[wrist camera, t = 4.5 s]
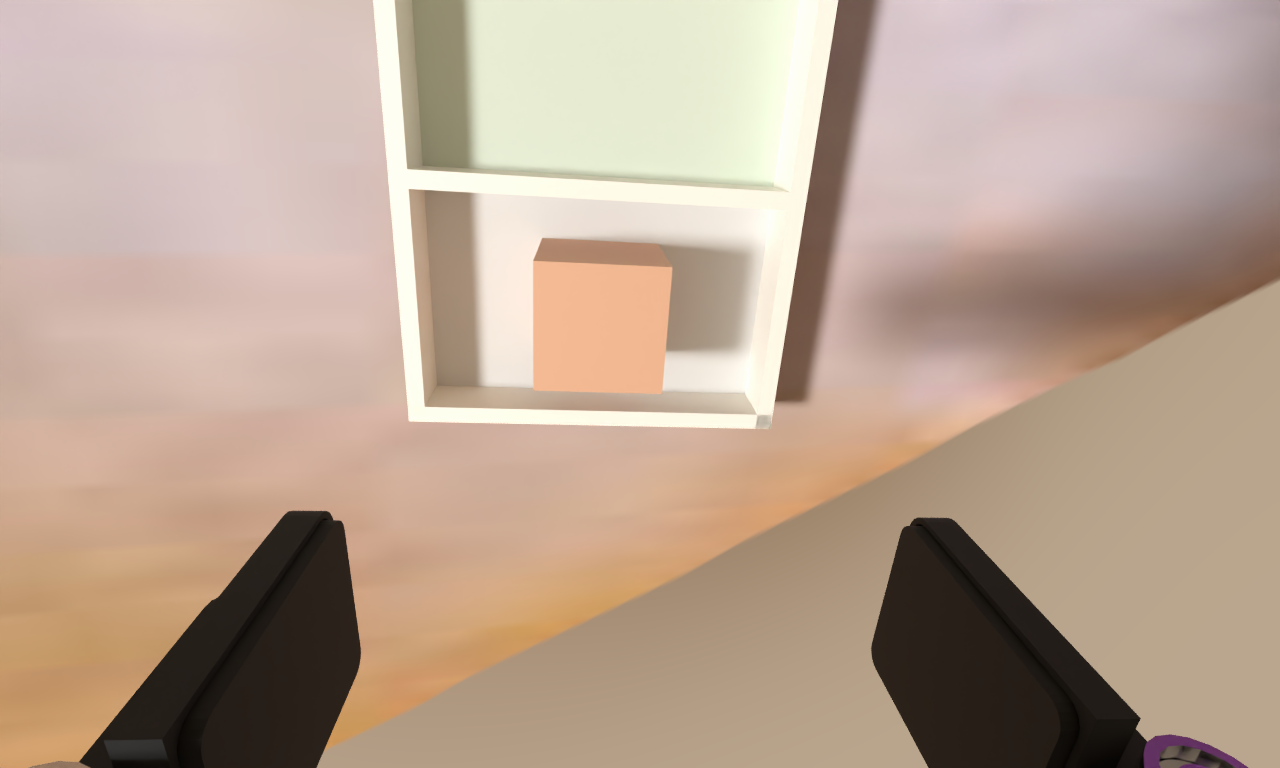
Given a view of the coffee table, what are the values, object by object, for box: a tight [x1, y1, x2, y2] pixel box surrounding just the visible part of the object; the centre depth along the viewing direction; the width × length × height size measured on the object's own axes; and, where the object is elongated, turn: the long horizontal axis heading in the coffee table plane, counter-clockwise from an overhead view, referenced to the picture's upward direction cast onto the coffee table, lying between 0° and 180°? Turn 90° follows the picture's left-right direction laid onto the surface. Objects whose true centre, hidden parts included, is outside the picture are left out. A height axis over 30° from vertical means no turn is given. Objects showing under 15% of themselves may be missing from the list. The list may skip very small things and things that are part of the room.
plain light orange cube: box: [533, 238, 673, 394], centre depth 25 cm, size 5×5×5 cm
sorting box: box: [373, 0, 838, 429], centre depth 25 cm, size 20×16×3 cm
